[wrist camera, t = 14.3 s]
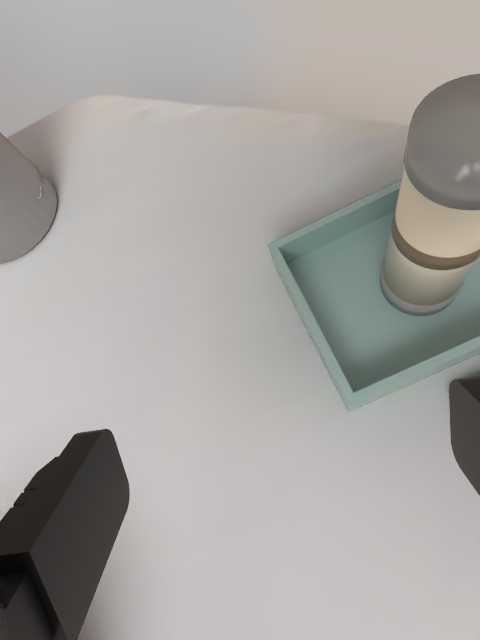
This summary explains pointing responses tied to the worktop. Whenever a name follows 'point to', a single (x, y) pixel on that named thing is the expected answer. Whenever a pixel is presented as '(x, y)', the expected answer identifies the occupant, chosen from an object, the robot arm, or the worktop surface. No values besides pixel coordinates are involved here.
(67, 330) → the worktop surface
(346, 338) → the parts tray
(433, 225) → the cylinder
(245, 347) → the worktop surface
